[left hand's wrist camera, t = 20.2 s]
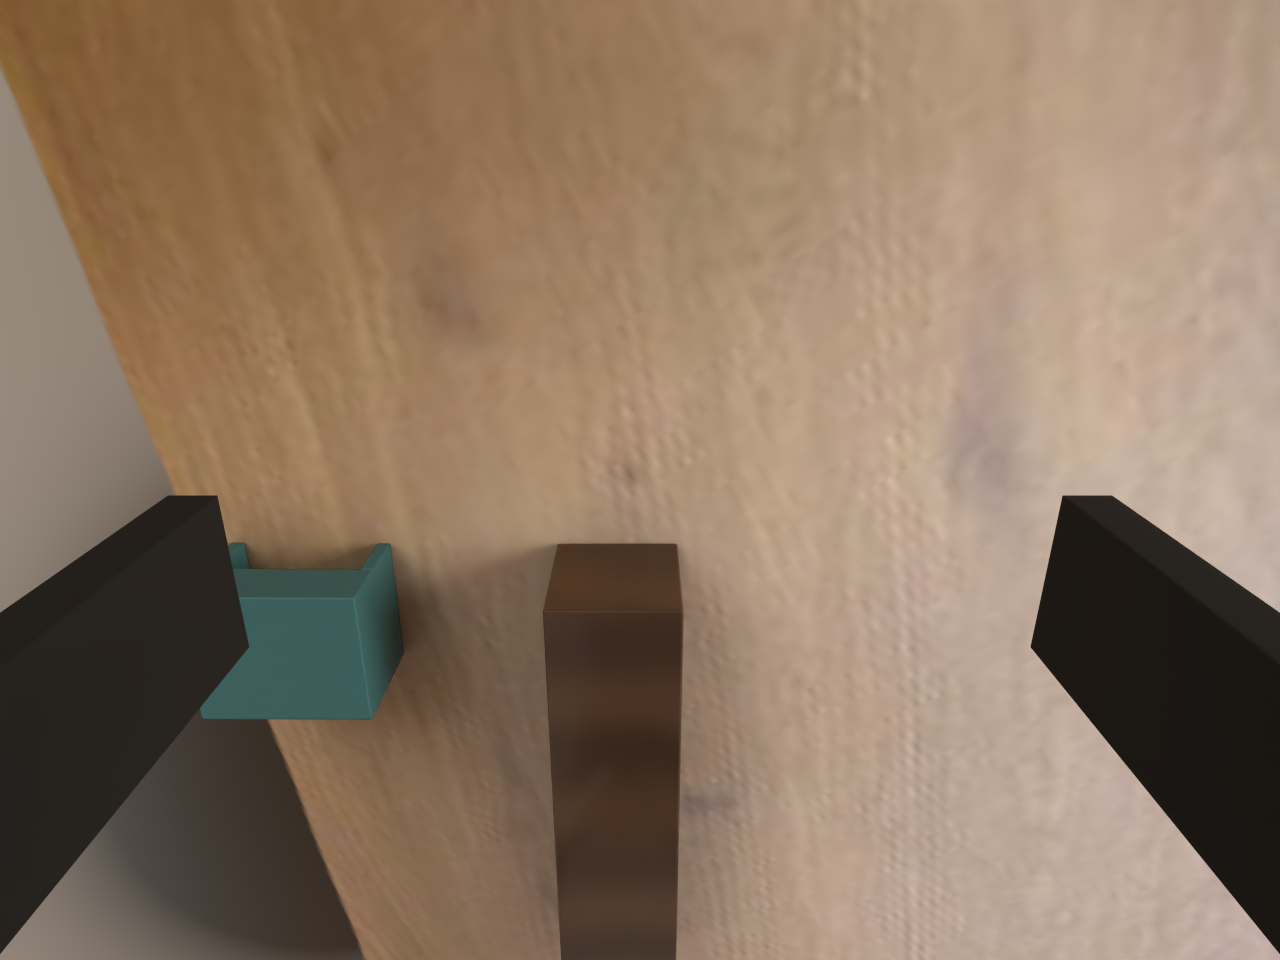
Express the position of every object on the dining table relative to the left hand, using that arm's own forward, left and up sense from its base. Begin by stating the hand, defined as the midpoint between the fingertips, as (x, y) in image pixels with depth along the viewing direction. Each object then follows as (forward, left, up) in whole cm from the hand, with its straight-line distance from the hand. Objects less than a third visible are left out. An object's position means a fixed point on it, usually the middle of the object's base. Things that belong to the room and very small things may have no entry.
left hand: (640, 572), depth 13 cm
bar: (+23, -1, -22) cm, 32 cm away
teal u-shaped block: (+13, -15, -22) cm, 30 cm away
